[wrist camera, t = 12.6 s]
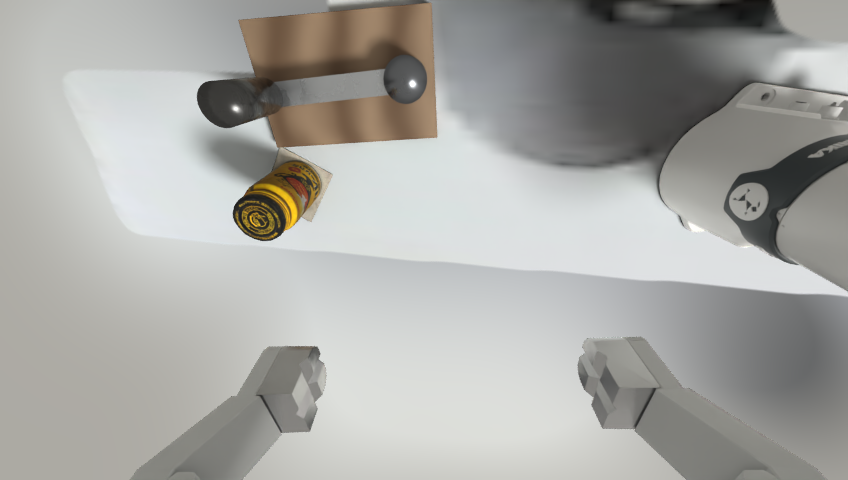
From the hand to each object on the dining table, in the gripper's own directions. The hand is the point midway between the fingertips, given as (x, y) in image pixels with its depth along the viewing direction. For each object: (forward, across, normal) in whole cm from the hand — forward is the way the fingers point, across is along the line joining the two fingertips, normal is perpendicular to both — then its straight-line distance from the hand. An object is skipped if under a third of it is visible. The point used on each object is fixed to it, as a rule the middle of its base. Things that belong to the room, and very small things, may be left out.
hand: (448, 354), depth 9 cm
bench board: (+33, +10, -7) cm, 35 cm away
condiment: (+33, +20, +6) cm, 39 cm away
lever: (+31, +10, -6) cm, 33 cm away
